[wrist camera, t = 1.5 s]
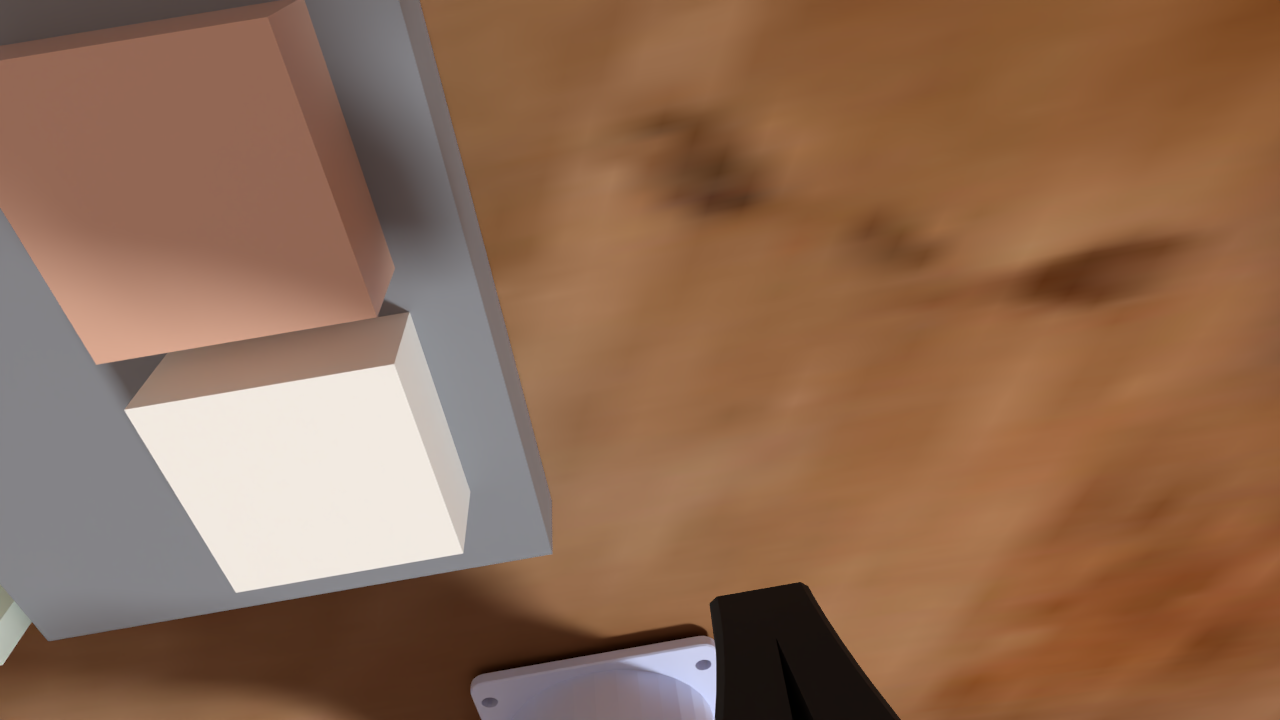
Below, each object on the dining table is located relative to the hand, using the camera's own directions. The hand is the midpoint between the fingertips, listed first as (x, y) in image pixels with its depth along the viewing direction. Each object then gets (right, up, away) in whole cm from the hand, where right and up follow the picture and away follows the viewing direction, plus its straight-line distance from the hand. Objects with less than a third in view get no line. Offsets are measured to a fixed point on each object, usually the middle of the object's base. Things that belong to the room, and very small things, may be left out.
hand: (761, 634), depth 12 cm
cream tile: (-9, +2, +6) cm, 11 cm away
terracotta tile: (-9, +7, +3) cm, 12 cm away
